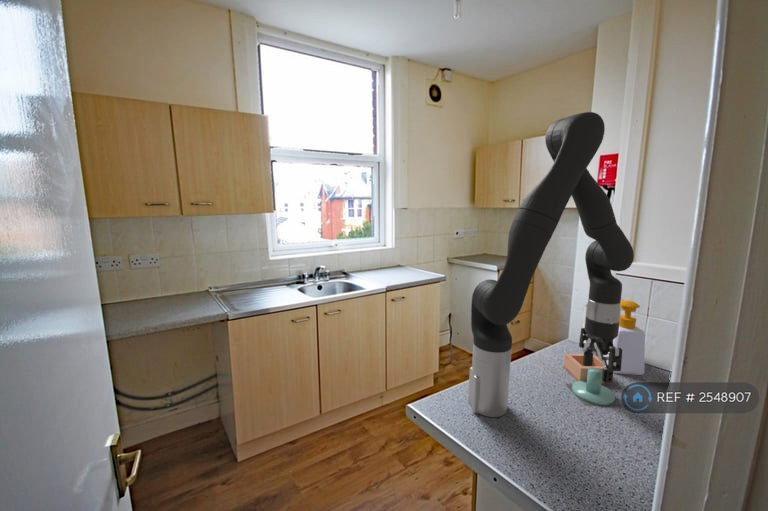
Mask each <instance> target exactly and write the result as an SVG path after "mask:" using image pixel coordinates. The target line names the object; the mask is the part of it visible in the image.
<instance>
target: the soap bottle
mask: <svg viewBox="0 0 768 511" xmlns="http://www.w3.org/2000/svg"><path fill="white" fill-rule="evenodd" d="M620 306H621V311H624V314H620V322H619V331H618V336H617V337H616V338H614V339H613V345H614V347H616V348H621V349H622V362H621V371H613V374H619V375H633V376H634V375H636V376H643V375H644V374H645V359H646V358H645V354H646V352H645V351H646V334H645V333H646V332H645V331H644V330H643V329H641V328H640V327H638V326H637V325H636V323H637V318H636V317H634V316H631V315H632V313H635V312H636V311H637V309H639V308H640V307H641V306H640V305H639V304H638V303H637V302H635V301H632V300H625V299H622V298H621V302H620ZM603 356H604V357H609V354H607V355H603ZM606 362H607V365H608V360H606ZM615 366H616V362H615Z"/></svg>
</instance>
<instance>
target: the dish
mask: <svg viewBox="0 0 768 511" xmlns="http://www.w3.org/2000/svg"><path fill="white" fill-rule="evenodd" d="M583 357H584V353H564V359H563V369H564V370H566V372H567V373H569V374H570V376H571V377H572V378H574V379H575V380H576V382H577V381H587V375H588V368H591V367H593V368H598V369H600V370H602V371H603V364H602V361H600V360H599V357H598V355H595V354H593V361H592V366H585V365H583ZM602 384H605V383H604V382H603V381H602Z"/></svg>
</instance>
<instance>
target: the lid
mask: <svg viewBox="0 0 768 511" xmlns="http://www.w3.org/2000/svg"><path fill="white" fill-rule="evenodd" d="M602 372H603V371H602V370H600V369H598V368H593V367H591V368H588V375H587V381H577V380H576V381H574V382H573V383H572V384H573V385H572V391H573V392H572V391H571V392H572V394H573V395H574V396H575V397H576V396H577V397H579V398H580V399H582V400H584V401H586V402H589V403H592V404H596V405H610V404H613V403H614V401H615V398H616V395H615V393H614V392H613V391H612V390H611V389H609V388H608V387H606V386H604V385H602V384H603V383H602ZM577 397H576V398H577Z"/></svg>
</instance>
